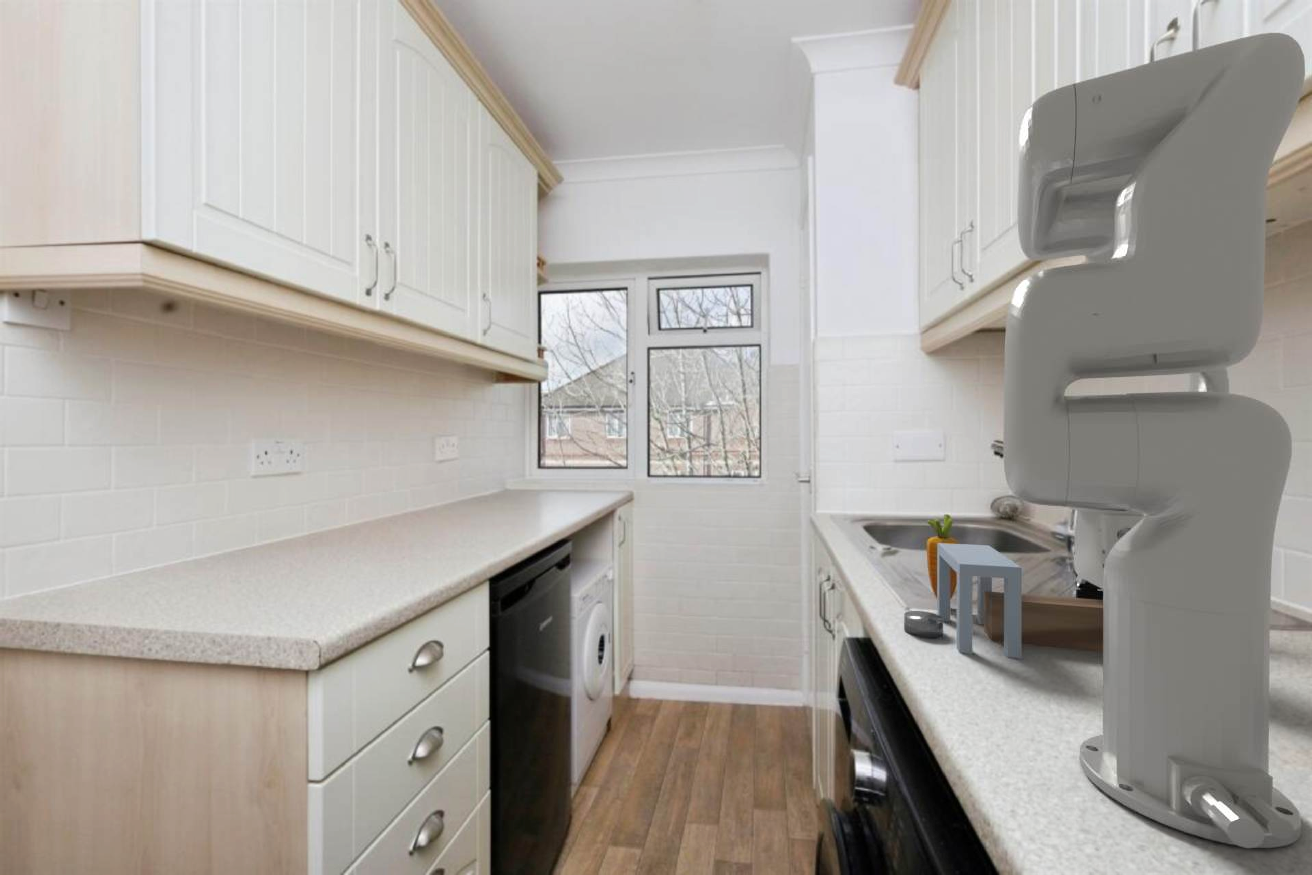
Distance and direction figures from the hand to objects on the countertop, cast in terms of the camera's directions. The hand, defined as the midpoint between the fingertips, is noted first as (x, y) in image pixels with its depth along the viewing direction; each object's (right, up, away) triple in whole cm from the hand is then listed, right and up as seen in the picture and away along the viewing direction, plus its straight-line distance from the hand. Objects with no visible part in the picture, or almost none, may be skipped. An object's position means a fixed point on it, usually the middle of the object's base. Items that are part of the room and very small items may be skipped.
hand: (1107, 630), depth 73 cm
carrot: (-12, -2, +17) cm, 22 cm away
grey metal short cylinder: (-21, -3, +6) cm, 22 cm away
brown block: (-4, -3, +2) cm, 5 cm away
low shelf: (-15, -2, +5) cm, 16 cm away
